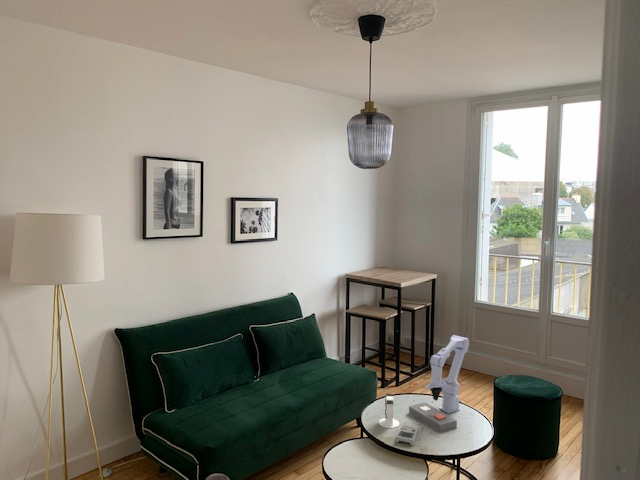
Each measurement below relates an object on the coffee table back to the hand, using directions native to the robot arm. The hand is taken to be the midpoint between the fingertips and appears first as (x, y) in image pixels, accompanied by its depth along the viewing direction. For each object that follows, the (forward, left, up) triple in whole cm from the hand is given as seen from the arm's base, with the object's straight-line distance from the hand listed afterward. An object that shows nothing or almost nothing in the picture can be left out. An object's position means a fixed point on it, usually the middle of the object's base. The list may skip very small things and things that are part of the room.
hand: (435, 399), depth 276 cm
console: (+4, +2, -10) cm, 11 cm away
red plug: (+4, +8, -9) cm, 13 cm away
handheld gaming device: (+29, +12, -11) cm, 33 cm away
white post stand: (+28, -6, -11) cm, 30 cm away
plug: (+4, -4, -10) cm, 11 cm away
